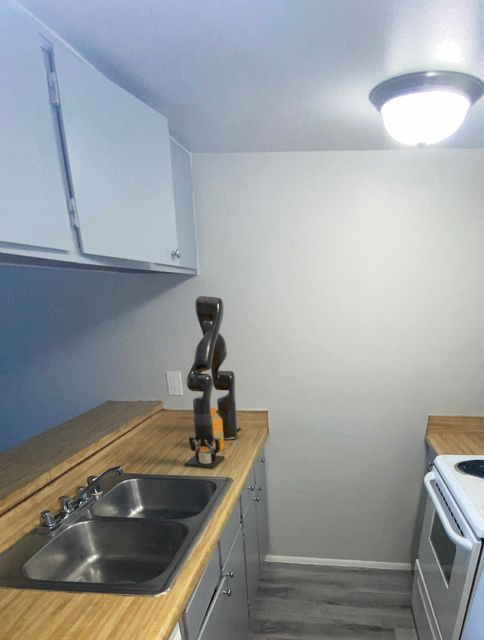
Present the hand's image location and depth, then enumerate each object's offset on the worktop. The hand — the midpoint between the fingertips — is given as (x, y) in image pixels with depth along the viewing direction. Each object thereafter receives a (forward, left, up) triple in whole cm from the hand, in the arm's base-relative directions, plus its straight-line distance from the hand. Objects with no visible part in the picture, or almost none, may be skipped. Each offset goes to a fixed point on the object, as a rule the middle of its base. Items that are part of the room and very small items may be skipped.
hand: (206, 460), depth 207 cm
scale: (-3, -2, -2) cm, 4 cm away
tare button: (-8, -6, +1) cm, 9 cm away
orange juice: (-22, -7, -2) cm, 23 cm away
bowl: (0, 0, -1) cm, 1 cm away
